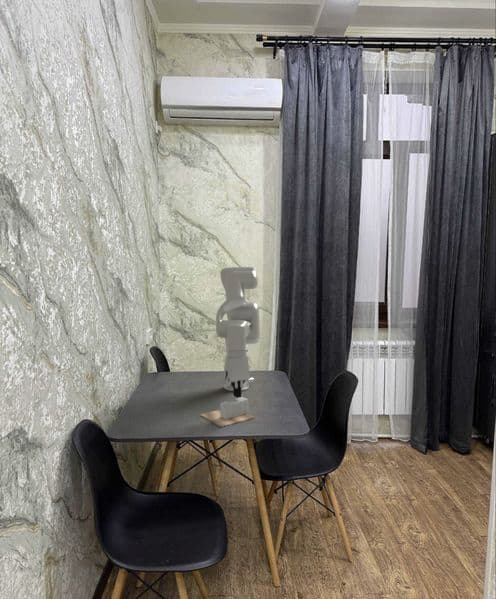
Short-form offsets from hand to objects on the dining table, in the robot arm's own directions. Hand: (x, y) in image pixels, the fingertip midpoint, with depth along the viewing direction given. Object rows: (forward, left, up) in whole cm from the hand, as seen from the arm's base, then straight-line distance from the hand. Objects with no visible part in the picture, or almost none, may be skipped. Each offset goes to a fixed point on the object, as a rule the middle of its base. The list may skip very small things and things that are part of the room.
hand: (237, 396), depth 186 cm
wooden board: (+5, 0, -8) cm, 9 cm away
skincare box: (-4, 0, -4) cm, 6 cm away
